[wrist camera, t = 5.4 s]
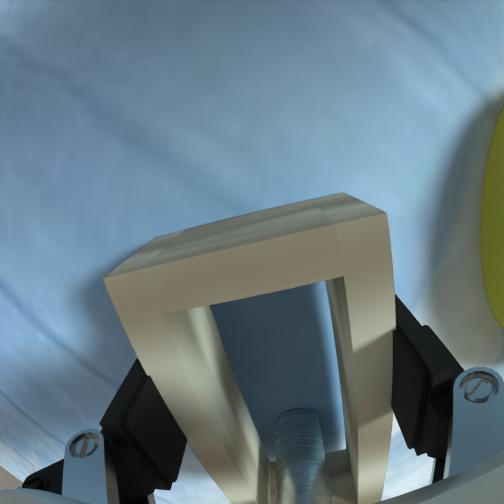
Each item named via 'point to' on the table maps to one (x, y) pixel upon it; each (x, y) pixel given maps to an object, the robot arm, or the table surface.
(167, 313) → the link
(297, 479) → the silver metal pin
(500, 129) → the yellow-green spoked oval frame
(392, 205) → the table surface
